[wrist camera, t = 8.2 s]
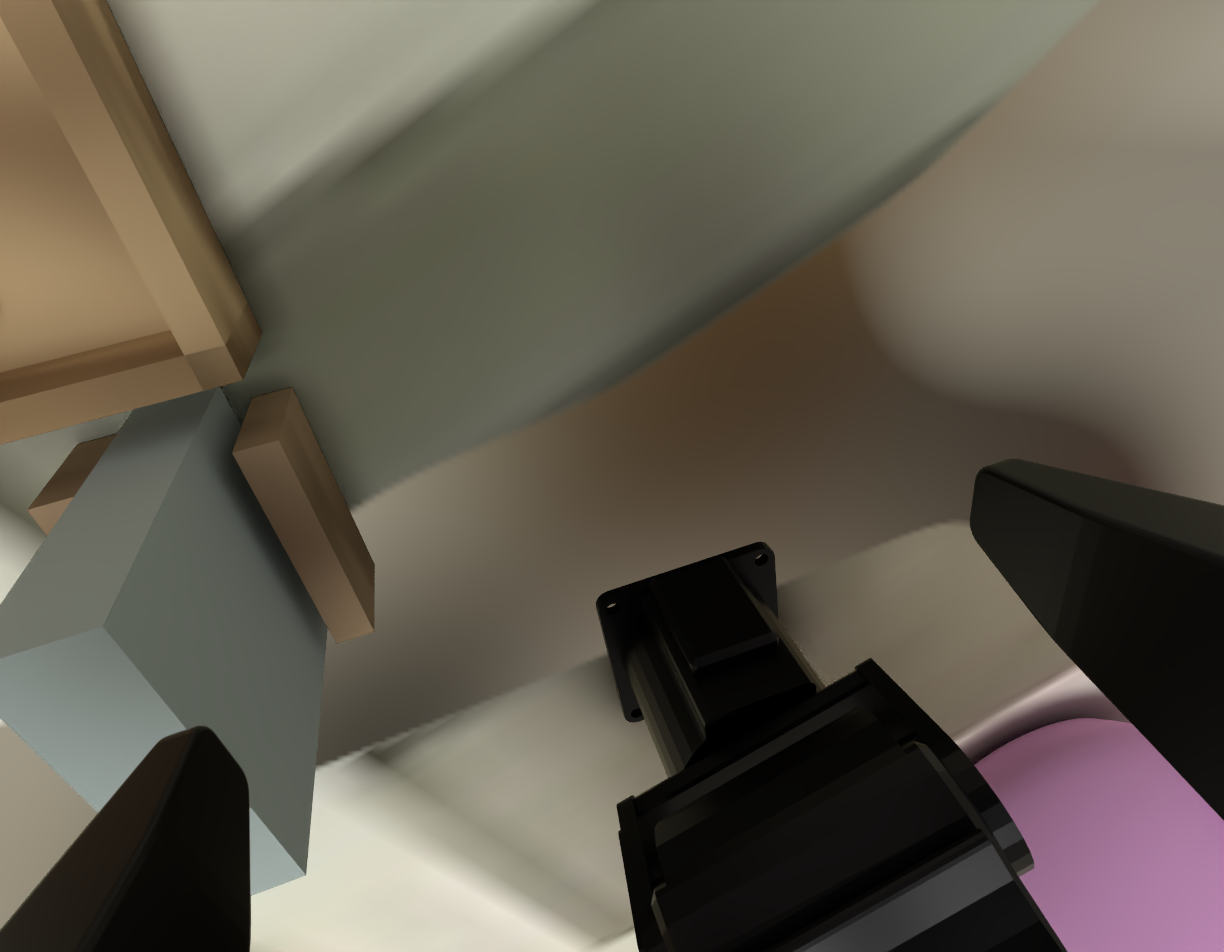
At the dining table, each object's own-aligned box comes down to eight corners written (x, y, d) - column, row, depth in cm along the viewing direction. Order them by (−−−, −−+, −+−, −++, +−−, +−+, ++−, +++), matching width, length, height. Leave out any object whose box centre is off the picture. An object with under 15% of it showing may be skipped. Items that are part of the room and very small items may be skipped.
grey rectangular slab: (330, 589, 21) (306, 875, 14) (263, 611, 21) (202, 914, 14) (218, 384, 18) (103, 626, 10) (135, 407, 17) (-47, 672, 10)
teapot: (1018, 916, 50) (1206, 1169, 39) (796, 912, 41) (961, 1249, 29) (1256, 694, 43) (1575, 926, 32) (1055, 623, 33) (1411, 922, 22)
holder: (374, 564, 21) (374, 631, 19) (196, 619, 21) (171, 696, 18) (291, 387, 18) (278, 440, 16) (77, 444, 17) (27, 509, 15)
